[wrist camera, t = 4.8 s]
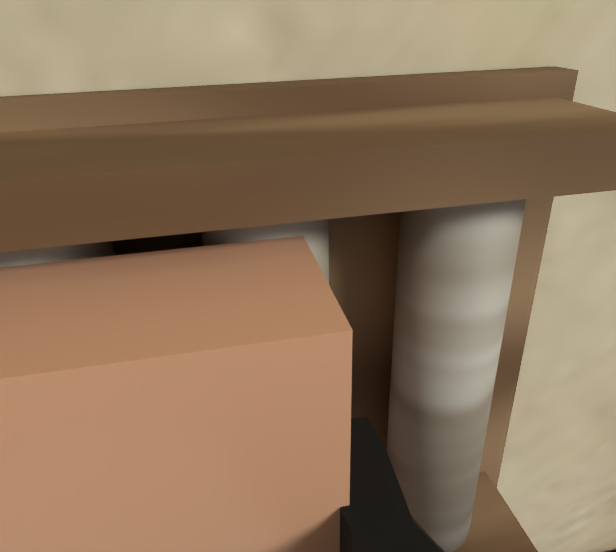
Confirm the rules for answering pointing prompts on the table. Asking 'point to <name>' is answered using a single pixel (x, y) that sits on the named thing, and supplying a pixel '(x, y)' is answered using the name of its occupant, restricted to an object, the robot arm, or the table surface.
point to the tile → (174, 402)
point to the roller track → (343, 231)
